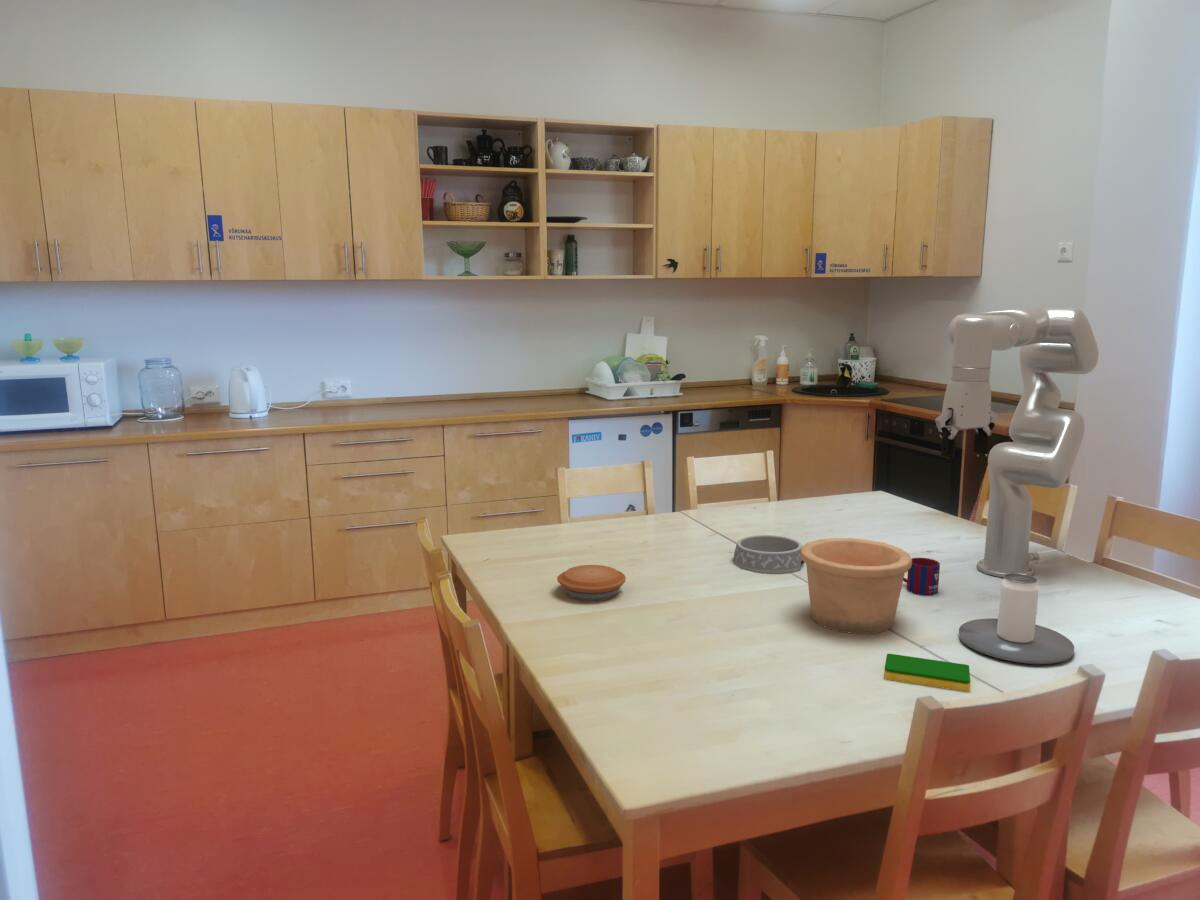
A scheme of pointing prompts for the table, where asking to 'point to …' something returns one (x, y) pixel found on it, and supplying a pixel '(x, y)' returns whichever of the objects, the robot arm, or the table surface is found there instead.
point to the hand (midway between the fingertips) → (964, 454)
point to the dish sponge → (927, 672)
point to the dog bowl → (768, 554)
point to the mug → (923, 576)
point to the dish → (1039, 651)
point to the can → (1017, 608)
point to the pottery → (854, 583)
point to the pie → (591, 582)
